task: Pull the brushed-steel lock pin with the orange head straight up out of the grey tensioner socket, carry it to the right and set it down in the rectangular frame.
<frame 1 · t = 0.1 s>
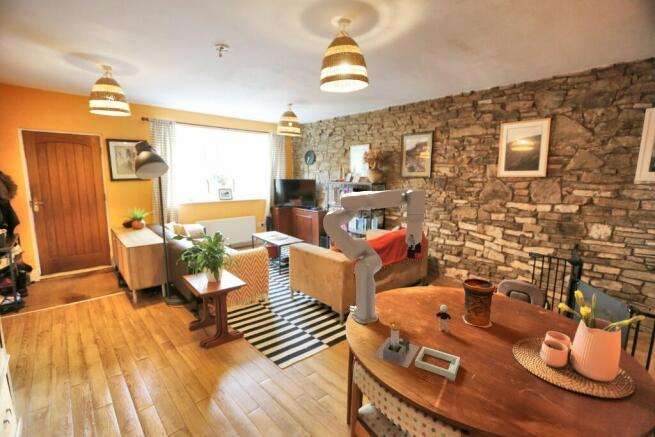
hand: (414, 255, 134), 37 cm above the table, tool pointing down, fingers open, 9 cm apart
rectangular frame: (437, 366, 114), on the table
grandmother figurine: (442, 331, 140), on the table
vessel: (476, 321, 148), on the table
lock pin: (394, 354, 120), point 1 cm above the table, touching tensioner block
tensioner block: (397, 353, 123), on the table
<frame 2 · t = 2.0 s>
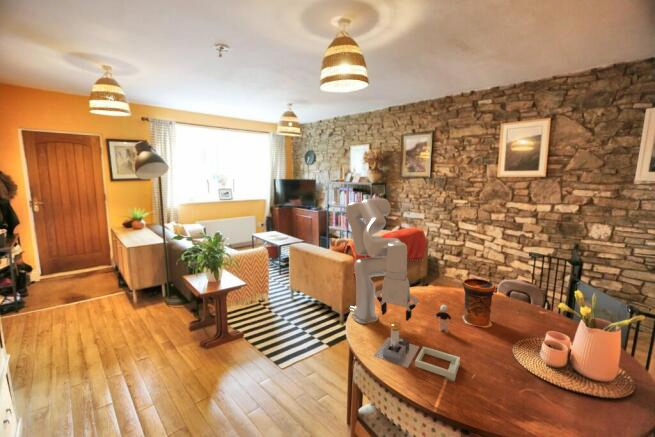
hand: (395, 316, 117), 18 cm above the table, tool pointing down, fingers open, 9 cm apart
nothing on the table moved.
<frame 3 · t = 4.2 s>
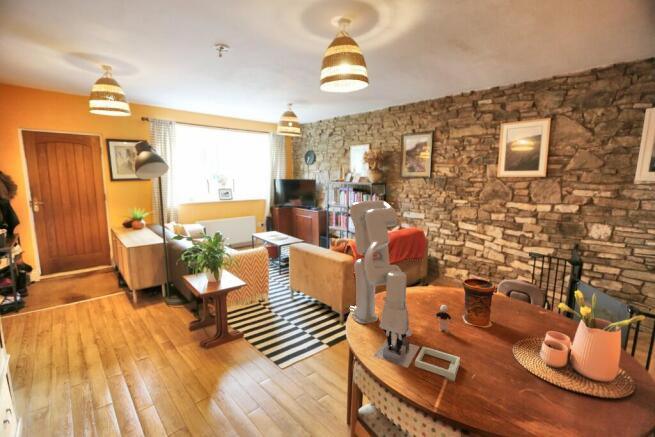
hand: (394, 345, 120), 5 cm above the table, tool pointing down, fingers closed on lock pin, 3 cm apart
lock pin: (394, 354, 120), point 1 cm above the table, touching gripper, tensioner block
everything else where it was.
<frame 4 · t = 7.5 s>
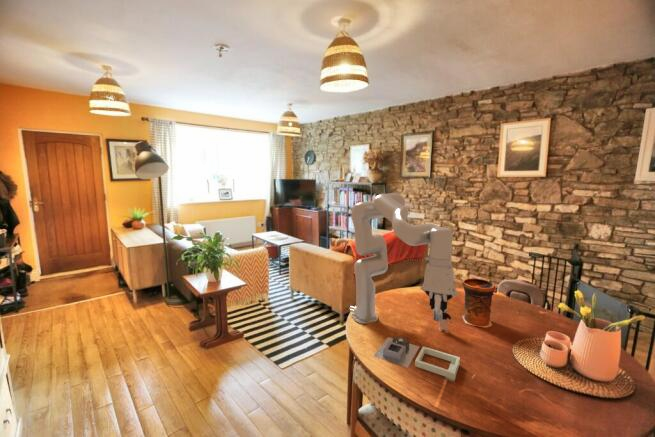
hand: (438, 308, 111), 24 cm above the table, tool pointing down, fingers closed on lock pin, 3 cm apart
lock pin: (437, 319, 111), point 19 cm above the table, touching gripper
everything else where it was.
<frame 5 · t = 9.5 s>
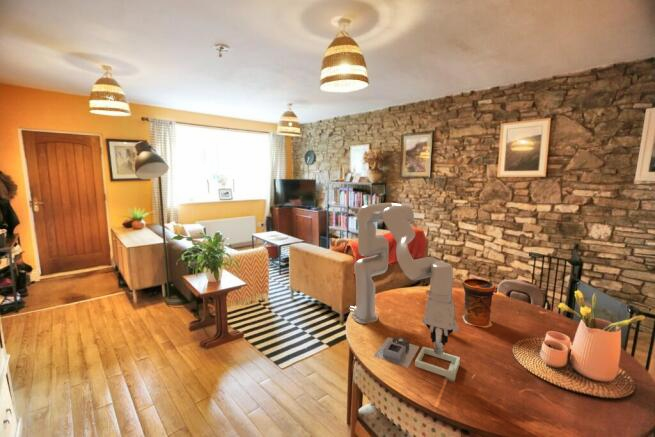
hand: (439, 341, 113), 10 cm above the table, tool pointing down, fingers closed on lock pin, 3 cm apart
lock pin: (438, 352, 113), point 6 cm above the table, touching gripper
everything else where it was.
when the fingers open (6 cm above the table, at t = 11.0 s): lock pin stays where it is, resting on rectangular frame.
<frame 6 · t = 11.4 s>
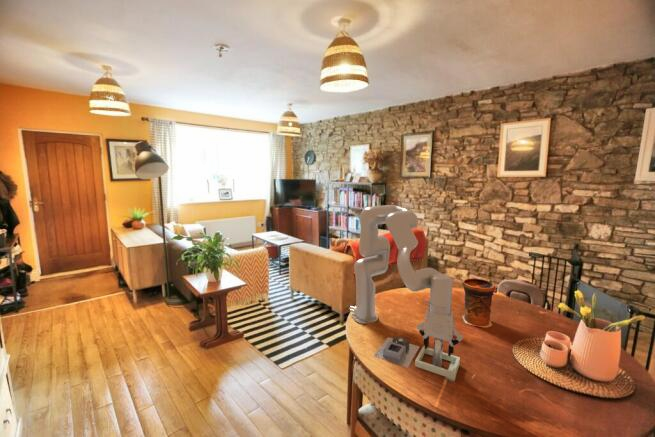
hand: (438, 350, 113), 7 cm above the table, tool pointing down, fingers open, 8 cm apart
lock pin: (437, 364, 114), point 1 cm above the table, touching rectangular frame
everything else where it was.
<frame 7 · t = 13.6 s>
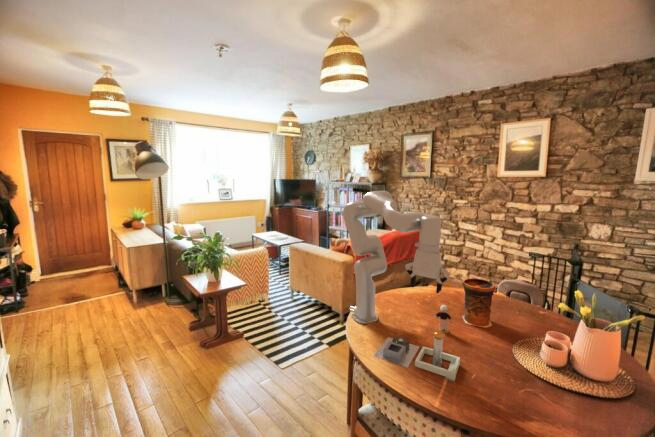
hand: (425, 289, 118), 28 cm above the table, tool pointing down, fingers open, 9 cm apart
nothing on the table moved.
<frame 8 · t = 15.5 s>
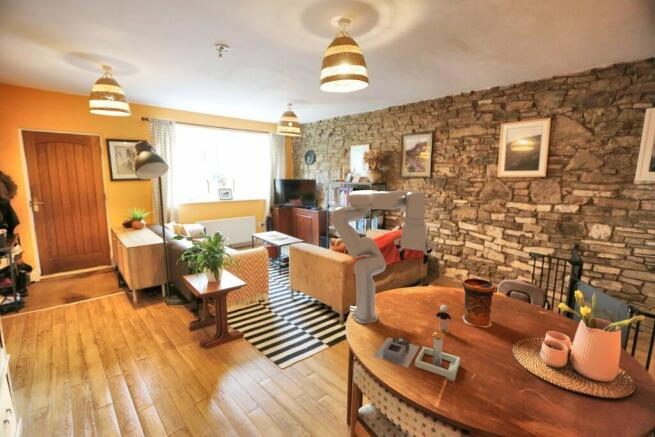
hand: (413, 261, 126), 36 cm above the table, tool pointing down, fingers open, 9 cm apart
nothing on the table moved.
at the end: lock pin inside the target area on the rectangular frame (0.1 cm from its centre), point 0.8 cm above the rectangular frame's base; the gripper is holding nothing; lock pin touching rectangular frame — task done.
